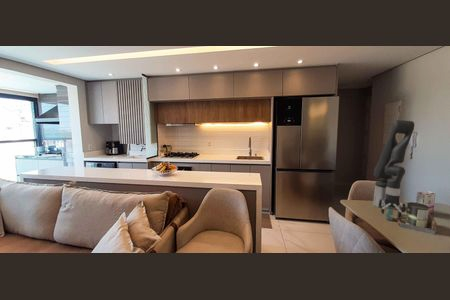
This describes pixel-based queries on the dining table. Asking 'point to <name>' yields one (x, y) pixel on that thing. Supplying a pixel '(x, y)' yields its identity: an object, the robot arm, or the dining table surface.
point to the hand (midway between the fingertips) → (390, 215)
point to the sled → (389, 214)
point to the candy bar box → (426, 199)
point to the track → (416, 227)
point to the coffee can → (417, 214)
